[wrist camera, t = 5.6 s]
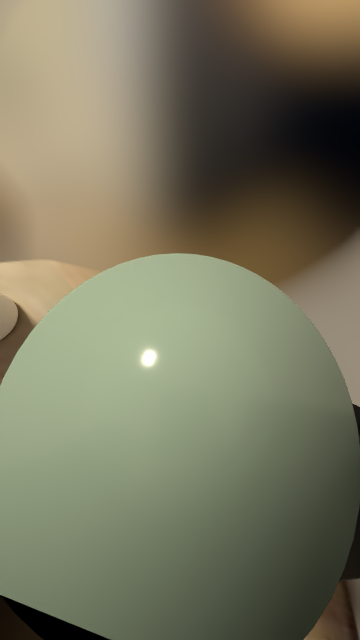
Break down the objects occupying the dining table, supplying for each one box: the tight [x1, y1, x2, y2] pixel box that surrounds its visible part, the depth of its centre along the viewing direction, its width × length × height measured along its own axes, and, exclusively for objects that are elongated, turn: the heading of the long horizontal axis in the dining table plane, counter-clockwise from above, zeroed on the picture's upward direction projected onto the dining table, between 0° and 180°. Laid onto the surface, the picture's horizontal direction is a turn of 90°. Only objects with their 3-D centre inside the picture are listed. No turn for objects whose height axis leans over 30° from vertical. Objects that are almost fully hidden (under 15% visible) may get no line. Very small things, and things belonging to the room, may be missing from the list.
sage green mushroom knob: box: [0, 253, 360, 640], centre depth 9 cm, size 7×7×12 cm
